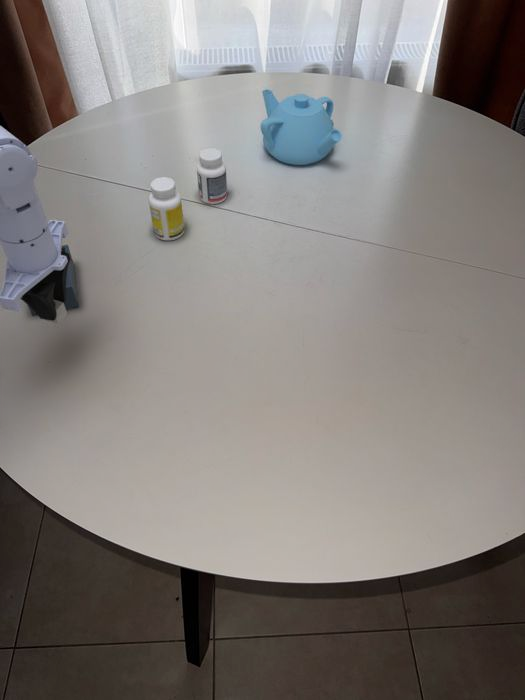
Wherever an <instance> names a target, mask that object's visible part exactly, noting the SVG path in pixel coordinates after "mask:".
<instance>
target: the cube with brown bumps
mask: <svg viewBox="0 0 525 700" xmlns="http://www.w3.org/2000/svg"><path fill="white" fill-rule="evenodd" d="M54 304H55V308H56V312H57V317H56V319H55V320H54V321H52V320H46V321H47V322H50V323H52V324H56V325H59V324H60V323H61V322H62V321H63V320H64V319H65V317H66V316H67V315H68V312H67V310H66V308H65V306H64V303H63V302H60V301H57V300H54Z"/></svg>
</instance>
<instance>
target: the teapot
mask: <svg viewBox="0 0 525 700" xmlns="http://www.w3.org/2000/svg"><path fill="white" fill-rule="evenodd" d="M262 97H263V102H264V106H265V110H266V115H267V118H264V119H263V120H262V121H261V122H260V131H261V132H260V133H261V134H262V144H263V146H264V148H265V149H266V151H267V152H268V153H269V154H270V155H271V156H272V157H273V158H274V159H276V160H277V161H278V162H281V163H283V164H287V165H292V166H307V165H313V164H315V163H318V162H319V161H321V160H323V159H324V158H325V157H326V156H328V155H329V154H330V152H331V151H332V149H333V147H334V146H335V145H336V144H338V142H340V141H341V140H342V137H343V136H342V132H341V131H340V130H339V129H336V128H335V129H334V125H335V124H334V120H332V115H333V112H334V101H333V100H332V99H331V98H330V97H328V96H321V97H319V98H317V99H316V98H314V97H312V96H309V95H307V94H304V93H297V94H295V95H292V96H291V95H290V96H288V97H287V96H286V97H285V98H283V99H282V100H281V101H280V102H279V100H278V99H277V98H276V95H275V94H274V92H273V90H271V89H268V88H266V89H264V90H262ZM324 104H326V107H324Z"/></svg>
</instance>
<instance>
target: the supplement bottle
mask: <svg viewBox="0 0 525 700" xmlns="http://www.w3.org/2000/svg"><path fill="white" fill-rule="evenodd" d="M150 191H151V193H150V194H149V196H148V205H149V211H150V217H151V223H152V229H153V233H154V235H155V237H156V238H158V239H159V240H162V241H175V240H177V239H179V238H181V237H182V236H183V234H184V233H185V221H184V213H183V205H182V198H181V195H180V192H178V190H177V188H176V182H175V180H173V178H170V177H166V176H162V177H157V178H154V179H153V180H152V181H151V183H150Z"/></svg>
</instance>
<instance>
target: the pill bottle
mask: <svg viewBox="0 0 525 700" xmlns="http://www.w3.org/2000/svg"><path fill="white" fill-rule="evenodd" d="M198 161H199V163H198V164H197V166H196V176H197V187H198V196H199V199H200V200H201V201H202V202H204V203H206V204H210V205H217V204H220V203H223V202H224V201H225V200H226V199H227V197H228V183H227V167H226V164H225V163H224V162H223V155H222V152H221V151H220V150H219V149H218V148H214V147H213V148H212V147H209V148H204V149H202V150H200V151H199V154H198Z"/></svg>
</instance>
